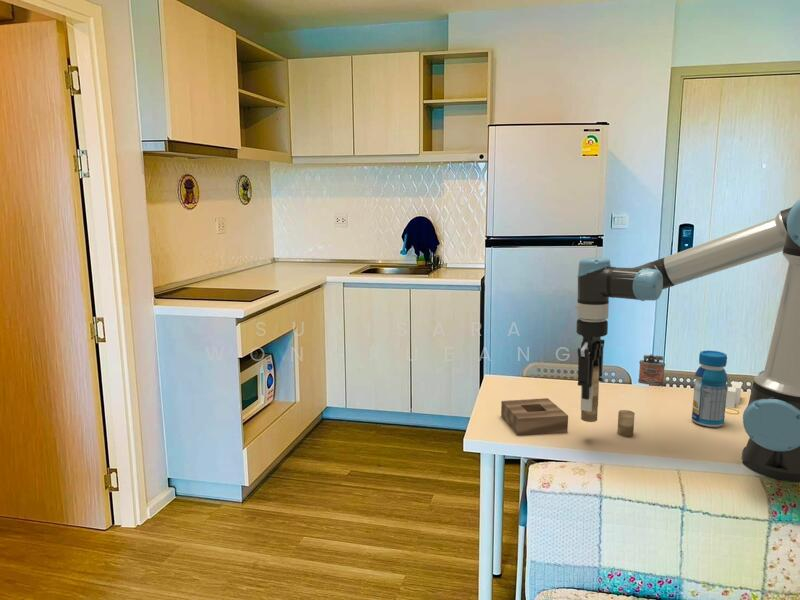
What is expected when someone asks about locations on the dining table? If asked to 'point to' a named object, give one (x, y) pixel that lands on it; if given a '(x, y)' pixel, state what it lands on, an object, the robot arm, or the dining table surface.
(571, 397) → the dining table surface
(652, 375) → the lighter
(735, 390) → the napkin holder
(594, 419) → the long pin
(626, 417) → the short pin
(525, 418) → the pin block
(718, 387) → the beverage bottle
